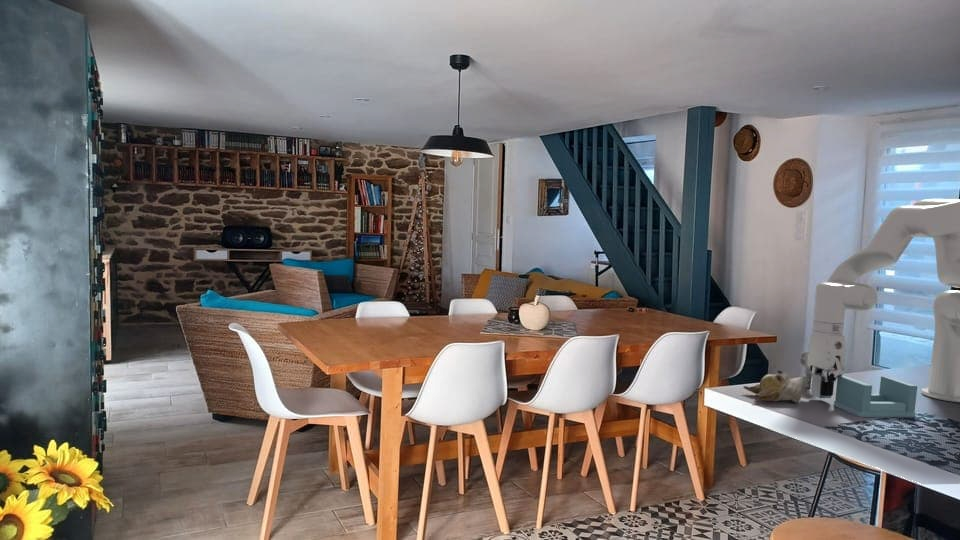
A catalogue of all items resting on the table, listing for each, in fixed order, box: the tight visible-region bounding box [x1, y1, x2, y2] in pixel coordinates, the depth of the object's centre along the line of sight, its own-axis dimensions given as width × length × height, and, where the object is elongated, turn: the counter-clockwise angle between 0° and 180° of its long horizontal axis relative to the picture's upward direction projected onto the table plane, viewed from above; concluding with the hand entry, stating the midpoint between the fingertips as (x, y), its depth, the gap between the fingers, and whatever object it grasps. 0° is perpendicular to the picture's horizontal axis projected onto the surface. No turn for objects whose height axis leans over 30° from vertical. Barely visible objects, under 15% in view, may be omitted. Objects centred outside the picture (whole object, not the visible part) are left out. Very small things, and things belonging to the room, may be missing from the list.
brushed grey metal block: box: [811, 372, 832, 399], centre depth 186 cm, size 4×4×6 cm
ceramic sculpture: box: [742, 370, 806, 404], centre depth 184 cm, size 11×9×15 cm
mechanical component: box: [799, 351, 812, 389], centre depth 200 cm, size 3×10×10 cm, turn 174°
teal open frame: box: [833, 375, 918, 418], centre depth 178 cm, size 16×10×8 cm, turn 99°
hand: (821, 392), depth 186 cm, fingers closed on brushed grey metal block, 3 cm apart
